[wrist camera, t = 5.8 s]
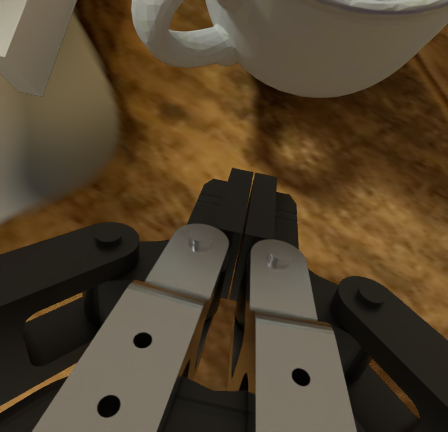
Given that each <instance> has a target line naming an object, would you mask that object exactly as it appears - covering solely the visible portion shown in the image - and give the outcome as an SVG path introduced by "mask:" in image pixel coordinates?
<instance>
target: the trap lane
mask: <svg viewBox="0 0 448 432" xmlns="http://www.w3.org/2000/svg"><path fill="white" fill-rule="evenodd" d="M76 2H77V0H0V74H1V75H2V76H3V77H4V78H5V79H6V80H7V81H9V83H11V84H12V85H13V86H14V87H15V88H16V89H17V90H18V91H19V92H21V93H26V94H31V95H36V96H41V97H42V96H43V94H44V91H45V88H46V85H47V82H48V80H49V77H50V74H51V71H52V69H53V66H54V63H55V60H56V57H57V55H58V52H59V49H60V46H61V43H62V41H63V38H64V35H65V32H66V30H67V27H68V24H69V21H70V19H71V16H72V13H73V10H74V7H75V5H76Z"/></svg>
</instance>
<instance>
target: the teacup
mask: <svg viewBox="0 0 448 432" xmlns="http://www.w3.org/2000/svg"><path fill="white" fill-rule="evenodd" d="M183 1H184V0H132V9H131V12H132V18H133V23H134V27H135V29H136V32H137V34H138V36H139V38H140V39H141V41H142V42H143V43H144V45H145V46H146V47H147V48H148V49H149V51H150V52H151V53H152V54H153V55H154V56H155V57H156V58H158V59H159V60H160V61H162V62H164V63H165V64H167V65H170V66H173V67H183V68H192V67H200V66H205V65H210V64H215V63H218V64H219V65H222V66H230V65H232V64H235V63H237V64H239V65H240V66H241V67H242V68H243V69H245V70H246V71H247V72H248V73H250V74H251V75H252V76H253V77H255V78H256V79H258V80H260V81H261V82H263V83H265V84H266V85H269V86H271V87H273V88H275V89H277V90H279V91H283V92H286V93H290V94H294V95H298V96H303V97H313V98H328V97H338V96H343V95H348V94H352V93H355V92H358V91H361V90H364V89H366V88H368V87H371V86H373V85H375V84H377V83H378V82H380V81H382V80H384V79H385V78H387V77H389V76H390V75H391V74H393V73H394V72H396V71H397V70H398V69H399V68H401V67H402V66H403V65H404V64H405V63H407V62H408V61H409V60H410V59H411V58H412V57H414V56H415V55H416V54H417V53H418V52H419V51H420V50H421V49H422V48H423V47H424V46H425V45H426V44H427V43H428V42H429V41H431V40H432V39H433V38H434V37H435V36H436V35H437V34H438V33H439V32H440V31H441V30H442V29H443V28H444V27H445V26H446V25H447V24H448V0H206V4H207V8H208V12H209V15H210V18H211V21H212V23H213V26H214V27H211V28H207V29H202V30H196V31H188V32H180V31H172V30H169V27H170V23H171V20H172V18H173V15H174V13H175V11H176V10H177V9H178V7H179V6H180V5H181V4H182V2H183Z"/></svg>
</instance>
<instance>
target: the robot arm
mask: <svg viewBox="0 0 448 432" xmlns="http://www.w3.org/2000/svg"><path fill="white" fill-rule="evenodd" d="M252 178H253V172H250V171H245V170H240V169H235V168H232V170H231V173H230V176H229V179H228V182H227V181H222V180H217V179H212V180H211V181H209V182H208V183H206V184H205V185H204V186H203V189H202V191H201V193H200V195H199V198H198V200H197V202H196V205H195V207H194V209H193V212H192V214H191V216H190V219H189V221H188V223H187V225H185V226H182V227H180V228H179V229H178V230H176V232H175V233H174V234H173V236H172V238H171V239H169V240H165V241H155V242H139V235H138V233H137V232H136V231H135V230H134V229H133V228H131V227H129V226H127V225H125V224H121V223H115V222H104V223H98V224H95V225H91V226H88V227H85V228H82V229H79V230H76V231H73V232H70V233H66V234H63V235H60V236H57V237H54V238H51V239H48V240H44V241H41V242H38V243H35V244H32V245H29V246H26V247H23V248H19V249H16V250H13V251H10V252H7V253H4V254H1V255H0V406H1V405H3V404H5V403H6V402H8V401H10V400H12V399H13V398H15V397H17V396H19V395H20V394H22V393H24V392H26V391H28V390H29V389H31V388H33V387H35V386H36V385H38V384H40V383H42V382H44V381H45V380H47V379H49V378H51V377H52V376H54V375H56V374H58V373H59V372H61V371H63V370H65V369H67V368H68V367H70V366H72V365H74V364H75V363H77V362H78V363H77V364H76V366H75V367H74V369H73V370H72V372H71V373H70V375H69V376H68V377H65V378H62V379H60V380H57V381H55V382H53V383H51V384H49V385H47V386H45V387H43V388H41V389H39V390H38V391H36V392H34V393H32V394H31V395H29V396H28V397H26V398H24V399H23V400H21V401H19V402H18V403H16V404H14V405H13V406H11V407H9V408H8V409H6V410H5V411H3V412H1V413H0V432H448V340H446V339H445V338H444V337H443V336H442V335H441V334H439V333H438V332H437V331H436V330H435V329H434V328H432V327H431V326H430V325H429V324H428V323H427V322H425V321H424V320H423V319H422V318H421V317H420V316H418V315H417V314H416V313H415V312H414V311H413V310H411V309H410V308H409V307H408V306H407V305H406V304H404V303H403V302H402V301H401V300H400V299H399V298H397V297H396V296H395V295H394V294H393V293H392V292H390V291H389V290H388V289H387V288H385V287H384V286H383V285H381V284H379V283H377V282H376V281H373V280H371V279H368V278H364V277H358V276H352V277H347V278H345V279H343V280H342V281H341V282H340V284H339V285H336V284H334V283H332V282H330V281H328V280H326V279H323V278H321V277H319V276H318V275H316V274H314V273H313V272H312V271H310V270H309V269H308V267H307V262H306V258H305V257H304V255H303V254H302V252H301V251H299V246H298V226H297V206H296V203H295V202H294V200H293V199H292V197H291V196H290V195H288V194H284V193H279V192H276V188H277V177H274V176H269V175H264V174H260V173H255V176H254V180H253V185H252V189H251V183H252ZM250 189H251V193H250ZM249 194H250V198H249ZM248 200H249V202H248ZM247 205H248V206H247ZM246 210H247V211H246ZM239 245H240V246H239ZM238 250H239V251H238ZM237 254H238V256H237ZM236 258H237V262H236ZM235 263H236V267H235ZM234 267H235V273H234V278H233V283H232V289H231V294H230V300H234V301H237V305H236V311H235V315H234V319H233V322H232V332H231V346H230V360H229V374H228V387H227V391H213V390H210V389H207V388H206V387H204V386H202V385H200V384H198V383H196V382H194V378H195V375H196V372H197V369H198V366H199V363H200V359H201V356H202V353H203V350H204V347H205V344H206V341H207V338H208V335H209V332H210V329H211V326H212V322H213V318H214V314H215V313H216V312H217V310H218V307H219V302H220V298H225V299H227V298H228V293H229V289H230V285H231V280H232V276H233V271H234ZM81 292H82V295H83V297H82V298H79V299H77V300H75V301H73V302H71V303H68V304H66V305H64V306H62V307H59V308H57V309H55V310H53V311H50V312H48V313H46V314H44V315H41V316H39V317H37V318H35V319H33V320H30V321H28V322H26V320H27V319H28V318H29V317H30V316H32V315H33V314H35V313H36V312H38V311H40V310H42V309H45V308H47V307H49V306H52V305H54V304H56V303H58V302H61V301H63V300H65V299H68V298H70V297H72V296H74V295H77V294H79V293H81ZM25 322H26V323H25ZM372 359H374V360H375V361H376V363H377V364H378V365H379V366H380V367H381V368H382V369H383V370H384V371H385V372H386V373H387V374H388V375H389V376H390V377H391V379H392V380H393V381H394V382H395V383H396V384H397V385H398V386H399V387H400V388H401V389H402V390H403V391H404V392H405V393H406V395H407V396H408V397H409V398H410V399H411V400H412V401H413V403H414V404H415V406H416V407H417V409H418V412H419V415H420V419H419V418H418V417H416V416H415V415H414V414H413V413H412V412H411V411H410V410H409V409H408V408H407V406H406V405H405V404H404V403H403V402H402V401H401V400H400V399H399V398H398V397H397V395H396V394H395V393H394V392H393V391H392V390H391V389H390V388H389V387H388V386H387V385H386V383H385V382H384V381H383V380H382V379H381V378H380V377H379V376H378V375H377V374H376V372H375V371H374V370H373V369H372V368H371V367H370V366H369V363H370V362H371V360H372Z"/></svg>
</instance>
